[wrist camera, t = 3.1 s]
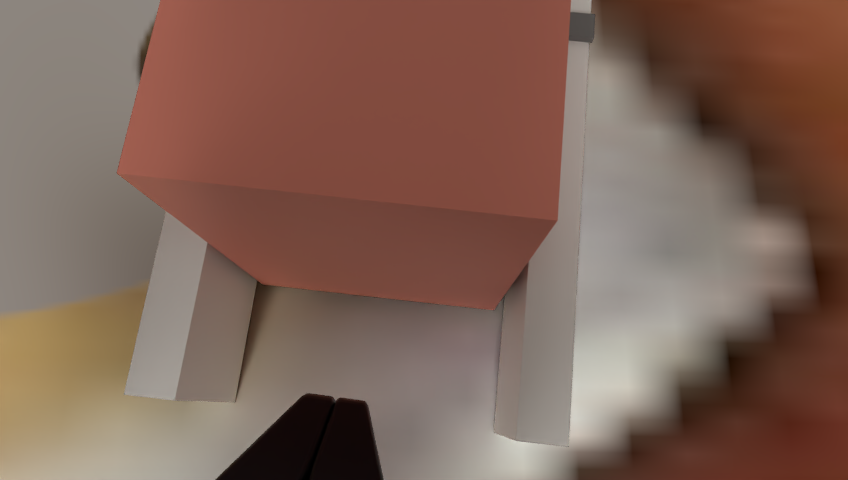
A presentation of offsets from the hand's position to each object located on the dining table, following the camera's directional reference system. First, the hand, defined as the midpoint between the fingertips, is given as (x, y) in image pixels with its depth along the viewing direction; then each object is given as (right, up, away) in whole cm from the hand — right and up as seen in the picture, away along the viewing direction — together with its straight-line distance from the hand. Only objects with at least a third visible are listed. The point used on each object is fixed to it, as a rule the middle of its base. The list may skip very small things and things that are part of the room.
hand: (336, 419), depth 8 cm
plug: (0, +4, +9) cm, 10 cm away
